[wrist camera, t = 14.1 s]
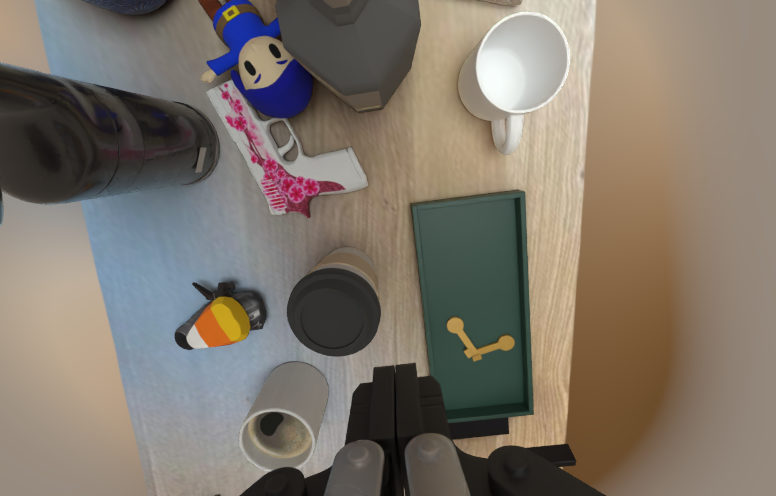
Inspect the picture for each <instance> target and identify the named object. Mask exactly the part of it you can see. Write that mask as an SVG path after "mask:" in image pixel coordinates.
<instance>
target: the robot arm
mask: <svg viewBox="0 0 776 496" xmlns="http://www.w3.org/2000/svg"><path fill="white" fill-rule="evenodd" d="M218 158H219V140H218V136H217V133H216V131H215V129H214V127H213V125H212V123H211V122H210V121H209V119H208V118H207V117H206V116H205V115H204V114H203V113H202V112H200V111H199V110H197V109H196V108H194V107H192V106H190V105H187V104H183V103H179V102H171V101H166V100H162V99H158V98H154V97H149V96H145V95H140V94H136V93H131V92H127V91H122V90H118V89H113V88H109V87H104V86H100V85H95V84H90V83H86V82H81V81H77V80H72V79H68V78H63V77H59V76H55V75H51V74H46V73H42V72H39V71H35V70H31V69H26V68H22V67H18V66H14V65H10V64H5V63H1V62H0V227H1V225H2V222H3V213H4V210H3V197H2V191H3V192H4V193H6V194H8V195H10V196H12V197H14V198H17V199H20V200H22V201H26V202H31V203H36V204H45V205H53V204H64V203H70V202H76V201H83V200H89V199H95V198H101V197H107V196H113V195H119V194H125V193H132V192H138V191H144V190H150V189H157V188H163V187H169V186H176V185H188V184H194V183H197V182H199V181H201V180H203V179H205V178H206V177H207V176H208V175H210V173H211V172H212V171H213V170H214V168H215V166H216V164H217V161H218ZM404 489H405V496H606V495H604V494H602V493H600V492H599V491H597V490H596V489H594V488H592V487H591V486H589V485H587V484H586V483H584V482H582V481H581V480H579V479H577V478H576V477H574V476H572V475H571V474H569V473H567V472H566V471H564V470H562V469H561V468H559V467H557V466H556V465H554V464H552V463H551V462H549V461H547V460H546V459H544V458H542V457H541V456H539V455H537V454H536V453H534V452H532V451H530V450H528V449H526V448H523V447H520V446H503V447H500V448H498V449H496V450H494V451H493V452H492V453H491V454H490V456H489V457H488V459H486V458H481V457H475V456H472V455H469V454H467V453H465V452H463V451H461V450H460V449H459V448H458V447H457V446H456V445H455V444H454V442H453V441H452V438H451V434H450V429H449V424H448V419H447V415H446V410H445V405H444V400H443V396H442V391H441V386H440V383H439V382H438V381H437V380H436V379H435V378H434V377H433V376H425V377H417V370H416V363H410V364H400V365H396V373H395V367H394V365H392V366H383V367H374V371H373V382H370V383H361V384H360V385H359V386H358V387H357V389H356V390H355V391H354V393H353V396H352V403H351V409H350V415H349V422H348V428H347V434H346V441H345V446H344V447H343V448H342V449H340V450H339V452H338V453H337V454H336V456H335V459H334V462H333V465H332V466H331V467H330V468H328V469H326V470H325V471H322V472H320V473H318V474H315V475H312V476H310V477H307V478H304V475H303V474H302V472H301V471H300V470H298V469H296V468H293V467H282V468H278V469H275V470H273V471H270V472H269V473H267V474H265V475H264V476H263V477H261V478H260V479H259V480H258V481H257V482H255V483H254V484H253V485H252V486H251V487H249V488H248V489H247V490H246V491H245V492H243V493H242V494H241V495H240V496H404Z"/></svg>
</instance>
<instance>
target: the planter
mask: <svg viewBox="0 0 776 496" xmlns="http://www.w3.org/2000/svg"><path fill="white" fill-rule="evenodd" d="M83 1H85V2H88V3H90V4H93V5H95V6H98V7H100V8H103V9H106V10H109V11H113V12H117V13H121V14H128V15H139V14H145V13H148V12H151V11H154V10H156V9H158V8H159V7H160V6H162V5H163V4H164V3H165V2H166V1H167V0H83Z"/></svg>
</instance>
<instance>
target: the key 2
mask: <svg viewBox="0 0 776 496" xmlns="http://www.w3.org/2000/svg"><path fill="white" fill-rule="evenodd" d="M514 344H515V341H514V339H513V337H512V336H511V335H508V334H504V335H501V336H500V337H499V338H498V340H497V342H494V343H491V344H488V345H485V346H482V347H479V348H476V349H477V351H478V353H477V354H475V355H473V356H472V359H473V361H477V360H480V359H482V357H481V355H482V354H485V353H488V352H491V351H494V350H497V349H502V350H505V351H507V350H510V349H512V348H513V347H514Z"/></svg>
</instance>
